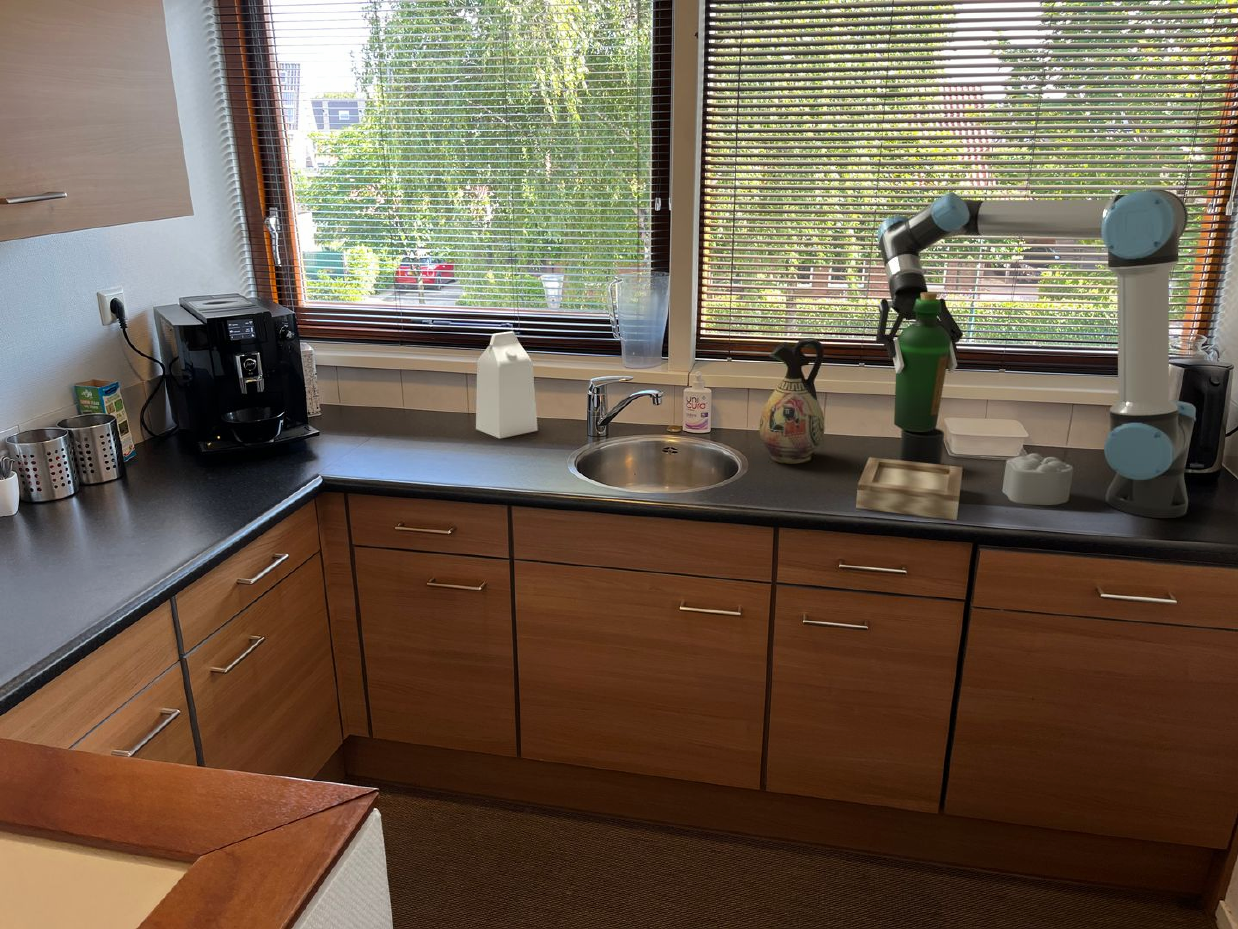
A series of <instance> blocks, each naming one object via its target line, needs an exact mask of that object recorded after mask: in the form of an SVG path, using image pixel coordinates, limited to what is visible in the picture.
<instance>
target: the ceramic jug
mask: <svg viewBox="0 0 1238 929" xmlns="http://www.w3.org/2000/svg"><path fill="white" fill-rule="evenodd" d="M806 347H808V348H813V349H814V351H816V357H815V360H814V363H813V365H812V368H811V371H810V372H809V374H808V376H807V378H805V375H804V372H803V370H802V367H805V366H809V364H810V361H809V359H808V357H807V356H806V354H804V352H802V349H803V348H806ZM769 357H770V358H772V359H774V360H777V361H779V362H781V363H783V364H785V366H786V367H787V369H786V370H787V371H786V373H785V376H784V378H783V380H782V381H780V383H779V384H778V385H777V387H776V388H775V389H774V391H773V392H772V393H771V395H770V397H769V398H768V400H767V401H766V403H765V405H764V407H763V410H762V413H761V416H760V420H759V424H758V425H759V428H758V430H759V435H760V440H761V442H762V443H763V445H764V447H765V448H766V449H767V451H768V452H769V454H770V455H769V457H770V459H771V460H773V461H774V462H777V463H781V464H788V465H790V464H791V465H792V464H794V465H795V464H802V463H805V462H809V461H811V459H812V457H811V455H812V454H813V453H814V452H815V451H816V450H817V448H818V447H819V446H821V444H822V442H823V438H824V435H825V418H824V417H825V416H824V413H823V410H822V408H821V404H820V402H819V400H818V396H817V391H816V386H815V385H816V384H815V380H816V377H817V375H818V373H819V371H820V368H821V366H822V364H823V360H824V347H823V344H822V343H821V342H820V340H818V339H816V338H814V337H807V338H806V337H804V338H802V339H800V340H798V341H797V343H796V344H795V345H794V347H793V348H792V347H791V345H790V344H789V342H787V341H784V342H782V343H781V344H779V345H778V346H777V347H776V348H775V349H774V350H772V352H771V353H770V354H769Z"/></svg>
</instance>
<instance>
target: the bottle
mask: <svg viewBox="0 0 1238 929" xmlns="http://www.w3.org/2000/svg"><path fill="white" fill-rule="evenodd" d="M937 297H938V293H937V292H932V291H928V292H922V293H921V298H919V299H916V302H915V306H914V309H913V311H915V312H916V320H915V323H911V324H910V325H908V326H906V327H905V328H904V329H903V330H902V331H901V332H900V334H899V335H898V336H897V339H898V341H899V345H900V350H901V354H902V359H903V363H904V367H903V369H902V371H901V372H900V373H896V372H895V387H894V388H895V392H894V417H893V418H894V419H893V424H894V425H895V426H896V427H898V428H899V429H900V430H902V429H903V430H907V431H914V432H926V431H930V430H933V429H935V428H937V424H938V418H939V411H940V408H941V407H940V406H941V400H942V396H943V390H944V383H945V379H946V378H945V377H946V373H947V372H946V371H947V368H948V367H947V361H948V355H949V350H950V344H951V338H950V336H949V334H948V333H947V331H945V330H944V329H943V328H942V327H940V326H939V325H936V321H937V318H938V313H940V312H941V304H940V299H939V298H937Z"/></svg>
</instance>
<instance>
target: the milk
mask: <svg viewBox="0 0 1238 929" xmlns="http://www.w3.org/2000/svg"><path fill="white" fill-rule="evenodd" d="M534 378H535V377H534V366H533V361H532V359H531V357H530V355H528V353H527V351H526V350H525V349H524V348H523V346H522V345H521V342H519V340H518V337H517V335H516V333H515V332H514V331H506V332H505V331H504V332H498V333H497V332H496V333H492V335H491V337H490V343H489V345H488V346H487V347H486V349H485V350H484V351H483V353H482V354H481V355H480V356H479V357H478V360H477V364H476V401H475V402H476V405H475V406H476V408H475V411H476V412H475V430H476V431H479V432H482V433H485V434H487V435H490V436H492V437H494V438H497V439H504V438H509V437H513V436H518V435H523V434H527V433H532V432H537V431H538V418H537V404H536V390H535V379H534Z"/></svg>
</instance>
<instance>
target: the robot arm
mask: <svg viewBox="0 0 1238 929" xmlns="http://www.w3.org/2000/svg"><path fill="white" fill-rule="evenodd" d="M1187 208H1188V207H1187V206H1186V204H1185V202H1184V200H1182V199H1181V198H1180V197H1179V196H1178V195H1177V194H1175V193H1174V192H1171V191H1168V190H1165V189H1148V190H1141V189H1140V190H1138V191H1135V192H1130V193H1127V194H1115V195H1114V196H1113V197H1112V198H1111V199H986V200H984V199H983V200H981V199H979V200H978V199H977V200H976V199H974V200H973V199H969V198H968V199H967V198H965V199H963V198H962V197H961V196H960V195H958V194H957V193H955V192H948V193H946V194H945V195H943V196H941V197H938V198H936V199H935V200H934V201H933V202H932V203H930V204H929V205H926V207H924V208H923V209H921V210H920V211H918V212H917V213H915V214H914V215H912V216H911V217H909V218H908V217H907V216H905V215H894V216H893V217H889V218H886V219H884V220H883V221H882V222H881V223H880V225H879V226H878V229H877V237H878V248H879V250H880V252H881V253H880V254H881V257H882V260H883V265H884V266H883V267H884V272H885V275H886V281H887V284H888V290H889V294H890V299H891V300H888V299H886V298H882V299H881V301H880V302H879V305H878V307H877V308H878V311H879V317H878V318H879V319H878V325H877V332H876V337H875V342H876V344H881V343H882V344H883V347H884V348H885V349H886V352H887V355H888V357H889V358H891V359H892V360H893V364H894V369H895V374H896V373H900V372H901V371H902V369H903V367H904V363H903V359H902V354H901V350H900V345H899V341H898V339H896V338H895V337H896V336H897V333H898V331H899V329H900V327H901V325H902V323H903V321H904V319H905V321H912V320H914V321H916V312H915V311H913V309H914V306H915V302H916V299H919V298H921V293H922V292H929V291H928V286H927V282H926V278H925V274H924V270H923V265H922V262H921V261H922V260H921V258H920V253H921V252H922V251H924V250H927V248H929V247H931V246H932V245H934V244H936V243H938V242H939V241H941V240H943V239H947V238H952V237H959V236H967V237H968V236H969V237H970V236H977V237H979V236H983V237H986V236H988V237H989V236H990V237H991V236H994V237H1022V238H1023V237H1026V238H1027V237H1028V238H1030V237H1031V238H1032V237H1033V238H1064V239H1065V238H1068V239H1070V238H1071V239H1072V238H1074V239H1076V238H1077V239H1102V241H1103V243H1104V245H1105V247H1106V249H1107V269H1108V270H1109V271H1111V272H1112V273H1113V274H1114V275H1115V276H1116V277H1117V279H1116V280H1117V281H1116V283H1117V286H1116V287H1117V288H1116V290H1117V294H1116V295H1117V298H1116V299H1117V378H1118V379H1117V381H1118V382H1117V383H1118V384H1117V385H1118V389H1117V390H1118V393H1117V394H1118V398H1117V399H1118V400H1117V401H1116V402H1115V403H1114V404H1113V405H1112V406H1111V407H1110V408H1109V433H1108V435H1107V436H1106V440H1105V443H1104V446H1103V449H1104V450H1103V452H1104V456H1105V460H1106V462H1107V463H1108V466H1110V468H1111V469H1112V470H1113V471H1115V472H1116V474H1115V476H1114V478H1113V479H1112V481H1111V483H1110V484H1109V487H1107V491H1106V496H1105V497H1106V498H1105V502H1106V504H1108V505H1109V506H1110V507H1111V508H1114V509H1116V510H1118V511H1121V512H1124V513H1127V514H1131V515H1135V516H1139V517H1146V518H1155V519H1174V518H1180V517H1183V516H1184V515H1186V514H1187V511H1188V507H1189V498H1188V493H1187V487H1186V483H1185V469H1186V465H1187V461H1188V460H1187V459H1188V455H1189V449H1190V444H1191V438H1192V434H1193V428H1194V424H1195V422H1196V421H1197V418H1196V413H1197V412H1196V411H1197V409H1196V406H1194V404H1192V403H1190V402H1186V401H1185V402H1184V401H1180V400H1177V399H1176V400H1174V399H1170V396H1169V395H1170V393H1169V392H1170V389H1169V388H1170V333H1169V332H1170V330H1169V329H1170V271H1171V270H1172V269H1173V268H1174V267H1175V266H1176V265H1177V264H1178V263H1179V250H1180V249H1179V245H1180V244H1179V242H1180V241H1179V240H1180V239H1181V237H1182V236H1183V234H1184V233H1185V231H1186V228H1187V226H1188V222H1189V213H1188V212H1189V211H1188V209H1187ZM939 300H940V304H941V312H940V313H938V316H937V321H936V325H939V326H940V327H942V328H943V329H944V330H945V331H947V333H948V334H949V336H950V338H951V344H950V350H949V355H948V361H947V367H946V368H947V370H948V373H950V374H951V373H954V372H955V370H956V369H957V367H958V363H957V359H956V357H957V355H958V348H957V343H959V342H960V340H961V339H962V337H963V335H964V334H963V331H962V330H961V328H960V327H959V325H958V323H957V322H956V319H954V317H953V315H952V314H951V312H950V311H949V309H948V308H947V303H946V300H945V298H939ZM891 308H892V309H893V310H894V312H896V313H897V314H898V315H897V317H896V319H895V321H894V323H893V326H892V327H891V329H890V331H889V334H886V330H887V326H888V325H887V324H888V318H889V312H890V310H891Z"/></svg>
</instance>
